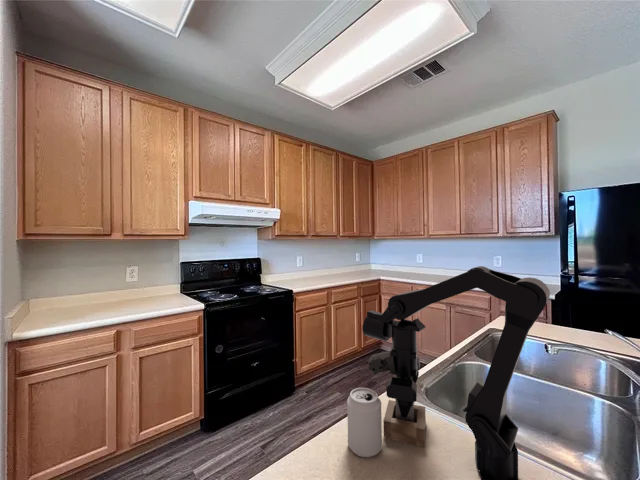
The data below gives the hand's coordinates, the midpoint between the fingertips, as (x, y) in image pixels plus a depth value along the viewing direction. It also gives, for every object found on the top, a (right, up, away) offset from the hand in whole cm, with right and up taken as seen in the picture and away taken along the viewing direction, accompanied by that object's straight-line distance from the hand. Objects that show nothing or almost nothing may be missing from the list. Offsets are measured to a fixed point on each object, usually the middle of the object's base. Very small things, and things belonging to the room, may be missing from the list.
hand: (405, 409), depth 69 cm
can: (-11, -5, -5) cm, 13 cm away
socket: (0, -5, 0) cm, 5 cm away
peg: (0, -5, 0) cm, 5 cm away
